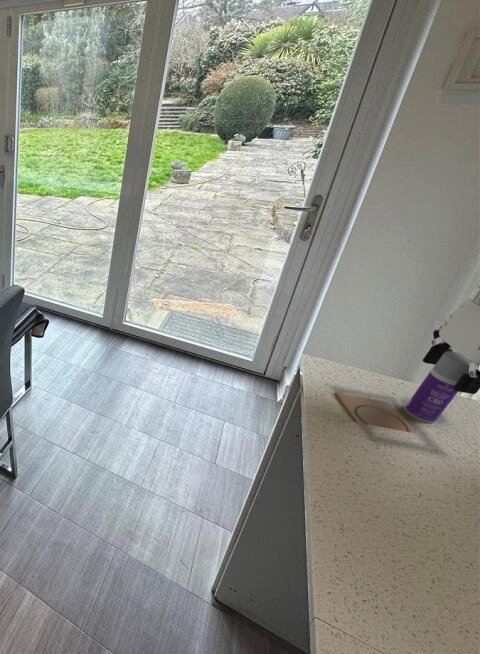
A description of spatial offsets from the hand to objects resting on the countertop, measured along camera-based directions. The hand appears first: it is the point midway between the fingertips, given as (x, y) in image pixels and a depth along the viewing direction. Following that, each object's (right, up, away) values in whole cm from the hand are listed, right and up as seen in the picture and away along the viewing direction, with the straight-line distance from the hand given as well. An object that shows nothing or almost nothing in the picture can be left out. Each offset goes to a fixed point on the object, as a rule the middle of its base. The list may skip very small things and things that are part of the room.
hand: (447, 376), depth 81 cm
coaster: (-11, -10, +3) cm, 15 cm away
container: (0, -9, +5) cm, 11 cm away
